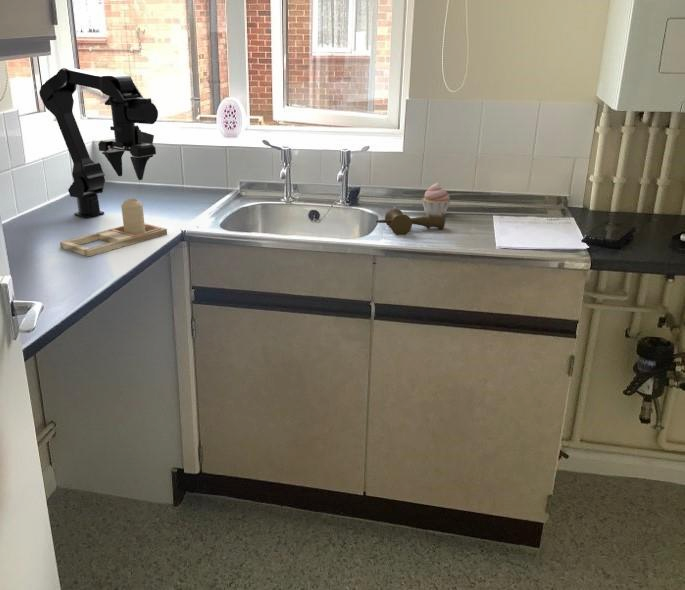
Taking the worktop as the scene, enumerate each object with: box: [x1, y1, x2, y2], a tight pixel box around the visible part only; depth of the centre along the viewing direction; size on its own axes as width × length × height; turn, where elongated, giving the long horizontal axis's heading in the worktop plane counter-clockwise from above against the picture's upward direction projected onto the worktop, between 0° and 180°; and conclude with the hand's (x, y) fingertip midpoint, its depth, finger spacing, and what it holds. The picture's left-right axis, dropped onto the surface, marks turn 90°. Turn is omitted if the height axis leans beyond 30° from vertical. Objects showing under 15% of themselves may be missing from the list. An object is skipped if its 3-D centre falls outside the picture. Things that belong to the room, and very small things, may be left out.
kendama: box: [375, 208, 446, 236], centre depth 191 cm, size 6×10×20 cm
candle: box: [120, 198, 146, 236], centre depth 182 cm, size 6×6×10 cm
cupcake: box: [420, 182, 452, 217], centre depth 206 cm, size 9×9×10 cm
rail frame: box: [59, 222, 168, 257], centre depth 179 cm, size 12×25×2 cm, turn 144°
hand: (130, 178), depth 192 cm, fingers open, 9 cm apart
